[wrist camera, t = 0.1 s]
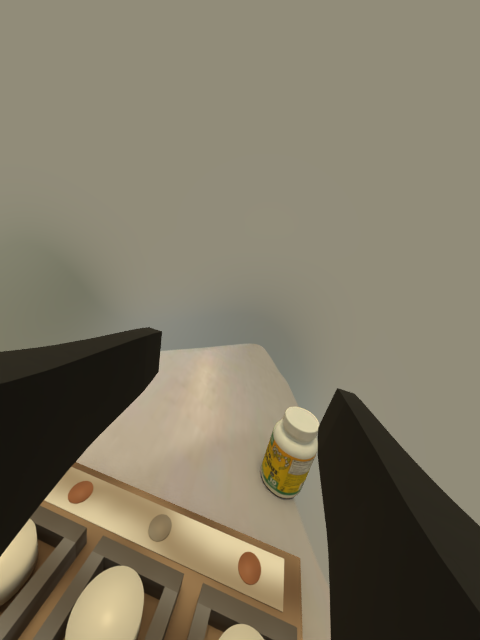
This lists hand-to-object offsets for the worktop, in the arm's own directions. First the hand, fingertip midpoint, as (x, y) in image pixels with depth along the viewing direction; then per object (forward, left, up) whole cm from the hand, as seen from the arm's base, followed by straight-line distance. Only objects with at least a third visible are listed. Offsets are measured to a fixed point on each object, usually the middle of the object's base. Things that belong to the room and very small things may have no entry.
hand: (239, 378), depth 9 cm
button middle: (-2, +4, -19) cm, 20 cm away
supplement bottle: (+15, -7, -22) cm, 27 cm away
